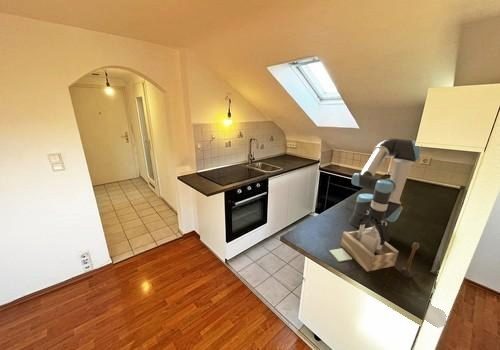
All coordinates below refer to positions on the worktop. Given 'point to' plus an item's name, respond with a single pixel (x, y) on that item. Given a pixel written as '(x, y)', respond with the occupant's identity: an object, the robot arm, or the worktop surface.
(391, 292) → the worktop surface
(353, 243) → the crate
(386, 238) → the robot arm
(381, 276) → the worktop surface
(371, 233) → the milk carton
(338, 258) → the place mat
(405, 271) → the wooden tabletop sculpture
